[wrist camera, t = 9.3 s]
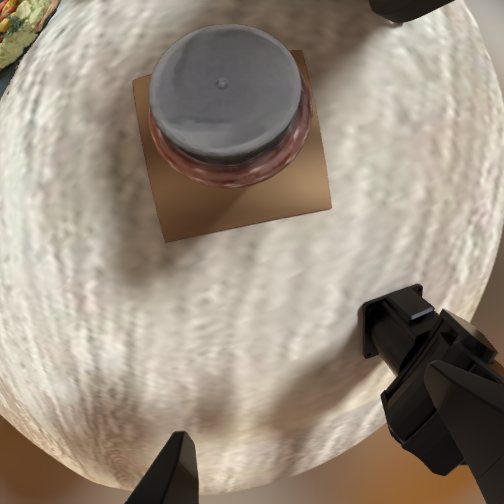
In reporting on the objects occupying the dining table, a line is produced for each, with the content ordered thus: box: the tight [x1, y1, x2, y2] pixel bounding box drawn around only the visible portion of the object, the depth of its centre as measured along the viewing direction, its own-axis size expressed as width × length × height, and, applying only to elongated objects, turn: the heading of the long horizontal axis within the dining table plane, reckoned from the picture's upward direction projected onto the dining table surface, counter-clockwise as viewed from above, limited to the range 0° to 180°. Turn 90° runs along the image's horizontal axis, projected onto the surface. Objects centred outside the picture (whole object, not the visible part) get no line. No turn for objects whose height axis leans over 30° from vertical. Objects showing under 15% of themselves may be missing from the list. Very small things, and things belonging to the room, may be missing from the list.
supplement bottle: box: [148, 24, 313, 189], centre depth 11 cm, size 6×6×11 cm
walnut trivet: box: [132, 50, 332, 243], centre depth 17 cm, size 12×12×1 cm
